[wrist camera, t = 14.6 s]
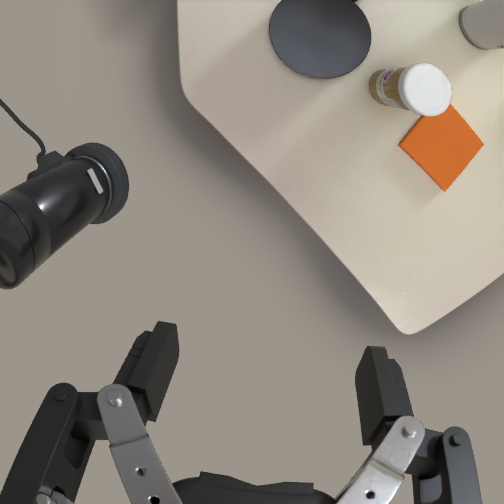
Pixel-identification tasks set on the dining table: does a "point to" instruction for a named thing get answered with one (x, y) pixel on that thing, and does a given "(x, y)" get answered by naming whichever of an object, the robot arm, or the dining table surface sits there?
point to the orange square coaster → (442, 145)
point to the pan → (320, 36)
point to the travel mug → (484, 24)
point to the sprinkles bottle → (413, 89)
